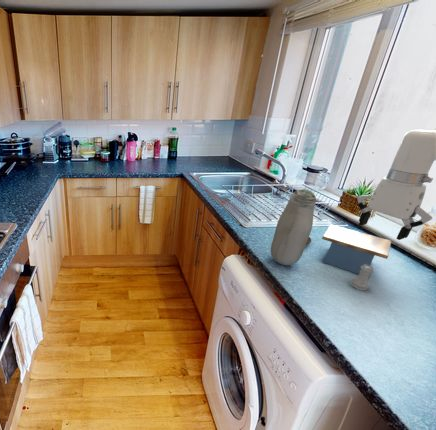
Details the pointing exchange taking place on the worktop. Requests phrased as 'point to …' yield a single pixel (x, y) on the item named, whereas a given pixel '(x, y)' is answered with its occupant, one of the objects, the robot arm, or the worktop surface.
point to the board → (358, 241)
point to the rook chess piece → (362, 278)
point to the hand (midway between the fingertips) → (380, 231)
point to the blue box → (347, 258)
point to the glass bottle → (293, 228)
